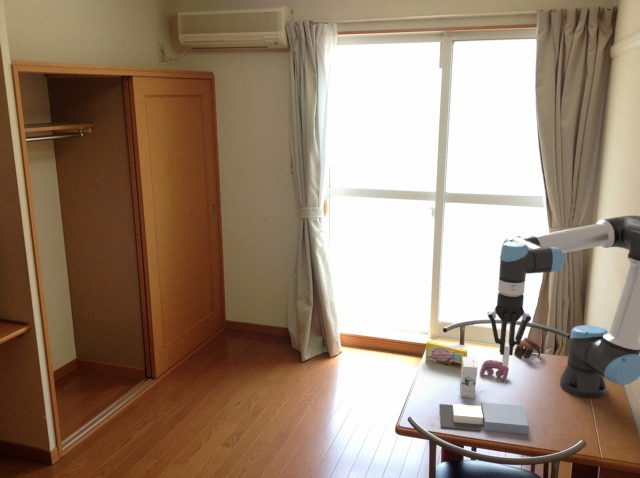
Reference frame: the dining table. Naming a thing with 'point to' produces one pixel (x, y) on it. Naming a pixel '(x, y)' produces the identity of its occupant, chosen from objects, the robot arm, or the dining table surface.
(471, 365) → the ink box
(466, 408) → the tile
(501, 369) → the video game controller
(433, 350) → the candy box
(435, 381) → the dining table surface
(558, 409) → the dining table surface
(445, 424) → the mat
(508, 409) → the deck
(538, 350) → the brown animal figurine
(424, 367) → the dining table surface
